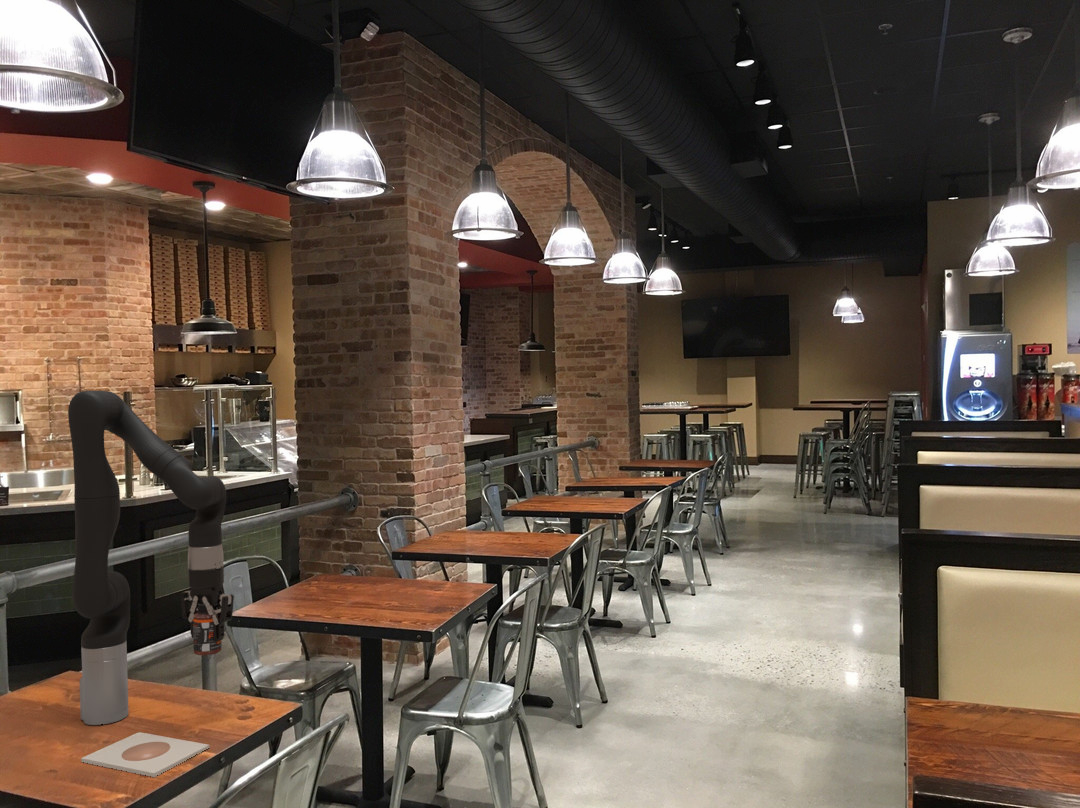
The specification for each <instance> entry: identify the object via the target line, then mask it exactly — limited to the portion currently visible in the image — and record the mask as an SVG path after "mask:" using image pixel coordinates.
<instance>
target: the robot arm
mask: <svg viewBox="0 0 1080 808" xmlns="http://www.w3.org/2000/svg"><path fill="white" fill-rule="evenodd" d="M67 408H68V409H67V416H68V417H67V419H68V426H69V433H70V440H71V448H72V456H73V457H72V459H73V460H72V461H73V477H74V478H73V481H74V492H73V493H74V494H73V495H74V499H73V500H74V522H75V523H74V525H75V537H74V538H75V539H74V541H75V560H74V573H73V581H72V582H73V583H72V603H73V606H74V608H75V610H76V611H77V613H78V614H79V615H80V616H82V617H83V618H85V619H89V620H90V621H89V623H88V626H86V628H85V630H84V631H83V632H82V634H81V638H80V645H81V650H80V651H81V676H82V677H80V679H79V702H80V703H79V707H80V720H81V721H83V723H84V724H85V725H90V726H102V725H101V724H103V725H107V724H113V723H116V722H118V721H121V720H123V719H125V718H127V717H128V716H129V713H130V712H129V686H128V685H129V684H128V683H129V681H128V680H129V679H128V650H127V647H128V646H127V645H128V644H127V635H128V630H129V628H130V624H131V623H130V622H131V590H130V586H129V585H130V584H129V583H128V580H127V579H126V576H125V575H123V574H122V573H120V572H117V571H113V570H109V555H110V554H109V553H110V547H111V545H112V544H113V543H112V542H113V539H114V537H115V534H116V531H117V528H118V525H119V522H120V517H121V491H120V486H119V482H118V480H117V477H116V475H115V473H114V471H113V469H112V467H111V464H110V463H109V461H108V458H107V455H106V450H105V449H106V448H105V431H107V432H109V433H111V434H113V435H115V436H117V438H118V437H119V438H120V439H121V440H123V441H124V442H126V444H127V445H129V447H130V448H131V449H132V451H133V452H134V454H135V456H136V457H137V459H138V460H139V462H140V463H141V464H142V465H143V466H144V467H145V468H146V469H147V470H148V471H149V472H151V473H152V474H153V475H154V476H155V477H157V478H158V479H159V480H161V481H162V482H163V483H165V484H166V485H167V486H168V487H169V490H170V491H171V492H172V493H173V494H174V495H175V497H177V499H178V500H179V501H180V502H181V503H182V504H183V505H185V506H186V507H188V508H190V509H193V510H196V513H195V517H194V519H193V520H191V522H189V525H188V532H187V533H188V553H187V576H188V577H187V579H188V580H187V581H188V583H187V584H188V587H189V588H190V589H188V590H187V591H182V592H180V594H179V600H180V606H181V615H182V618H183V619H187V620H188V622H189V626H190V630H189V631H190V635H191V638H192V639H193V617H194V614H195V613H197V611H198V604H205V605H206V608H207V611H208V613H209V615H210V616H211V617H212V619H213V621H214V624H215V625H214V641H220V640H223V639H224V637H225V623H226V622H229V621H232V619H233V610H234V601H235V599H234V598H235V595H234V594H233V593H231V594H225V593H224V591H223V589H222V588H223V585H224V583H225V570H224V569H225V568H224V566H225V565H224V549H223V534H222V533H223V532H222V530H223V529H222V523H223V519H224V514H225V510H226V504H227V488H226V486H225V483H224V482H223V480H222V479H220V478H219V477H218V476H215V475H207V476H203V477H202V476H201V477H200V476H199V475H197V474H196V473H195V472H194V471H193V465H192V462H191V461H190V460H189V459H188V458H186V457H185V456H184V455H182V454H181V453H180V452H179V451H178V450H176V449H175V448H174V447H172V445H170V444H168V443H167V442H166V441H164V439H162V438H161V437H160V436H158V434H157V433H155V432H154V431H153V430H152V429H151V428H150V427H149V426H148V425H147V424H146V423H145V422H144V421H143V420H142V419H141V418H140V417H139V416H138V415H137V414H136V412H134V410H132V408H131V407H130V406H129V405H128V404H127V403H126V402H125V400H123V398H121V397H120V396H119V395H118V394H116V393H115V392H112V391H108V390H82V391H79V392H77V393H76V394H74V395H73V397H72V398H71V400H70V401H69V404H68V407H67ZM216 608H217V610H213V609H216ZM217 614H219V619H218V616H217Z"/></svg>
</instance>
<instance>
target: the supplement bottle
mask: <svg viewBox="0 0 1080 808" xmlns="http://www.w3.org/2000/svg"><path fill="white" fill-rule="evenodd" d="M213 610H217V608H216V609H213ZM217 616H218V619H219V614H217ZM214 625H215V624H214V621H213V619H212V617H211V616H210V615H209V613H208V611H207V608H206V605H205V604H198V611H197V613H195V614H194V617H193V638H192V639H193V641H192V642H193V653H194V655H196V656H212V655H215V654H218V653H220V652H221V651H222V642H223V641H222V640H223V639H222V640H220V641H214Z"/></svg>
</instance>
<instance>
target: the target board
mask: <svg viewBox="0 0 1080 808" xmlns="http://www.w3.org/2000/svg"><path fill="white" fill-rule="evenodd" d="M208 748H211V747H210V744H207V743H201V742H196V741H190V740H184V739H179V738H173V737H168V736H162V735H157V734H153V733H146V732H141V731H139V732H136V733H134V734H132V735H130V736H127V737H124V738H123V739H120V740H118V741H116V742H114V743H111V744H109V745H107V746H105V747H103V748H100V749H99V750H96V751H94V752H92V753H89V754H87V755H85V756H83V757H81V758H80V759H81V760H80V762H81V763H83V762H84V763H83V764H87V763H88V765H92V764H93V766H97V765H98V766H97V767H102V766H103V768H107V769H111V768H113V769H112V770H116V769H117V770H118V771H121V770H122V771H121V772H126V771H127V773H131V774H135V773H136V775H140V774H141V775H142V776H145V775H146V777H150V776H151V777H150V778H157V777H158V776H160V775H162V774H164V773H166V772H168V771H169V769H170V770H172V769H174V768H175V767H177V766H179V765H181V764H183V763H185V762H187V761H188V760H187V759H189V758H191V757H193V756H195V755H196V754H198V753H200V754H202V753H203V752H202V751H204V750H206V749H208ZM208 750H209V749H208ZM206 751H207V750H206ZM201 752H202V753H201ZM204 752H205V751H204ZM198 755H199V754H198ZM196 756H197V755H196ZM196 756H195V757H196ZM193 758H194V757H193ZM191 759H192V758H191ZM186 760H187V761H186ZM189 760H190V759H189ZM184 761H185V762H184ZM182 762H183V763H182ZM180 763H181V764H180ZM178 764H179V765H178ZM176 765H177V766H176ZM174 766H175V767H174ZM173 767H174V768H173ZM171 768H172V769H171ZM117 770H116V771H117ZM167 770H168V771H167ZM165 771H166V772H165ZM163 772H164V773H163ZM161 773H162V774H161ZM141 775H140V776H141ZM157 775H158V776H157Z"/></svg>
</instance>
